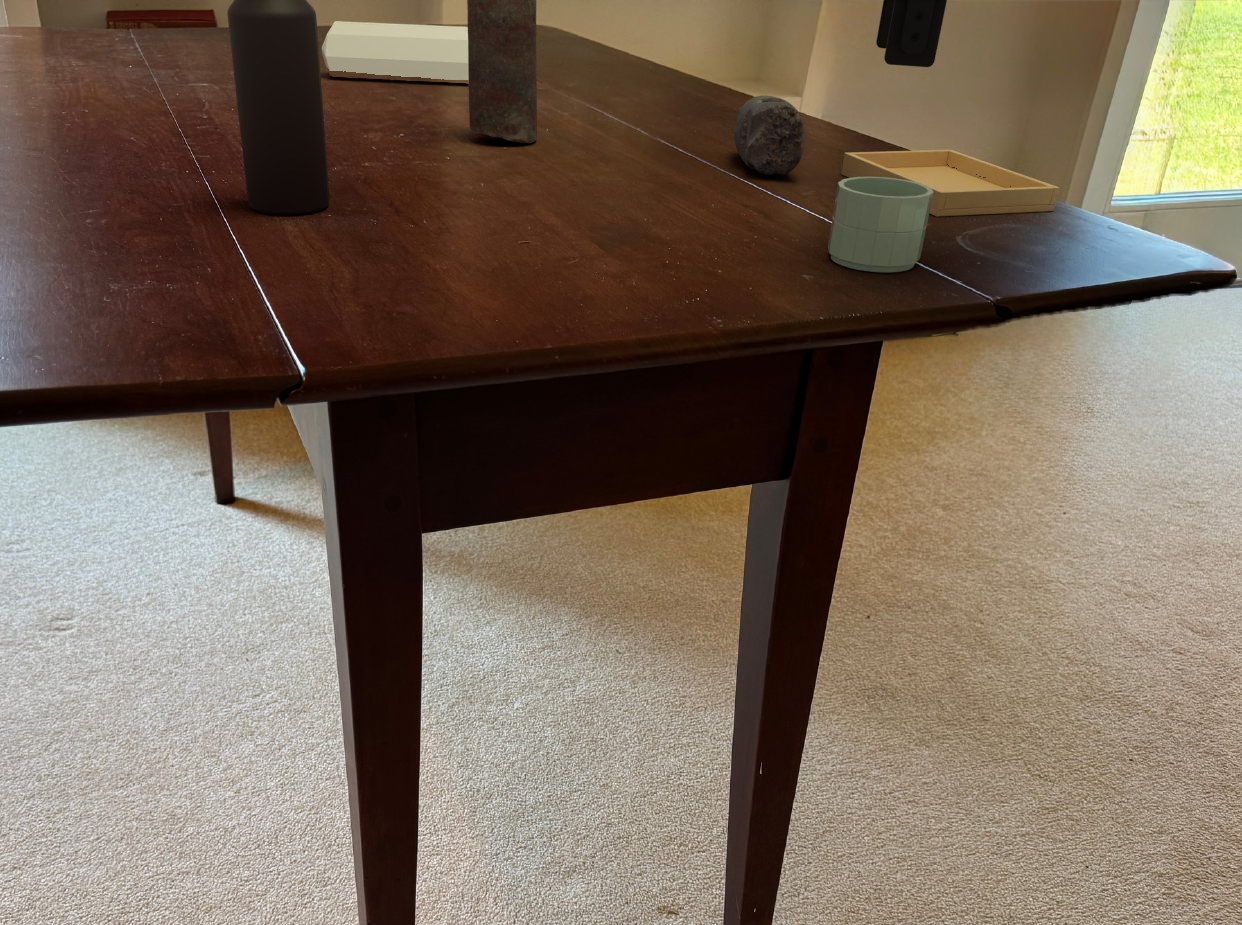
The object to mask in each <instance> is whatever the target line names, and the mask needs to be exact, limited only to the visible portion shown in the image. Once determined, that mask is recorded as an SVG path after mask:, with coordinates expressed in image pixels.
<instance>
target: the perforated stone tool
mask: <svg viewBox="0 0 1242 925" xmlns="http://www.w3.org/2000/svg"><path fill="white" fill-rule="evenodd" d="M733 134H734V135H733V139H734V144H735V148H736V151H737V153H738V156H740V158H741V160H742V161H743V162H744V164H745V165H746V167H748V168H749V169H751V170H753V171H755V170H756V171H757V172H758V173H760V174H763V175H769V176H772V175H787V174H789V173H790V172H793V171H794V170H795V169H796V168H797V167H798V165H799V164H800V162H801V160H802V158H803V154H804V149H805V142H806V138H805V137H806V131H805V123H804V119H803V117H802V115H801V114H800V112H799V111H798V109H797V108H796V107H795V106H794V105H793V104H791V103H790V102H789V101H788V100H785V99H783V98H780V97H776V96H772V95H766V94H765V95H757V96H754V97H751V98H750V99H748V100H747V101H745V103H743V105H742V106H741V108H740V109H739V111H738V114H737V116H736V120H735V123H734V130H733Z"/></svg>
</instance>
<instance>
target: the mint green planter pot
mask: <svg viewBox="0 0 1242 925" xmlns="http://www.w3.org/2000/svg"><path fill="white" fill-rule="evenodd" d="M835 193H836V194H835V199H834V206H833V211H832V219H831V225H830V231H829V238H828V243H827V244H828V245H827V250H828V253H829V254H830V255H829V256H830V257H829V258H830V259H831V261H833V262H834V263H836V264H837V265H839V266H843V267H846V268H848V269H853V270H857V271H862V272H863V271H864V272H869V273H900V272H906V271H909V270H911V269H913V268H914V267H915V265H916V263H917V262H919V261H920V259H921V256H922V251H923V246H924V241H925V237H926V232H927V226H928V222H929V217H930V213H929V212H930V207H931V202H932V197H933V190H932V189H931V188H930V187H928V186H926V185H923V184H921V183H917V182H912V181H908V180H903V179H895V178H887V177H853V178H849V177H847V178H843V179H841V180H839V181H838V182H837V186H836V192H835Z"/></svg>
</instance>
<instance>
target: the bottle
mask: <svg viewBox="0 0 1242 925" xmlns="http://www.w3.org/2000/svg"><path fill="white" fill-rule="evenodd" d="M316 12H317V11H316V10H315V9H314V7H313V6H312V5H311V3H310V2H309V1H308V0H233V1H232V2H231V4H230V5H229V7H228V9H227V22H228V23H227V24H228V32H229V41H230V51H231V61H232V69H233V77H234V87H235V95H236V96H235V97H236V106H237V116H238V123H239V132H240V142H241V150H242V159H243V160H242V161H243V170H244V179H245V186H246V187H245V188H246V196H247V202H248V205H249V207H250V208H251V209H252V210H254V211H255V212H259V213H263V214H268V215H276V216H295V215H305V214H311V213H315V212H316V213H317V212H319V211H322V210H324V209H326V208H327V207H328V206H329V204H330V202H331V201H330V200H331V199H330V198H331V197H330V188H329V187H330V186H329V185H330V184H329V173H328V172H329V171H328V159H327V144H326V133H325V132H326V131H325V118H324V105H323V89H322V88H323V87H322V76H321V64H320V63H321V62H320V48H319V34H318V22H317V21H318V20H317V13H316Z"/></svg>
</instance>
